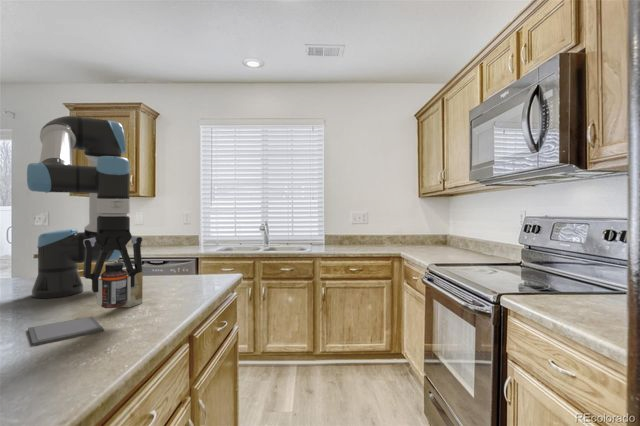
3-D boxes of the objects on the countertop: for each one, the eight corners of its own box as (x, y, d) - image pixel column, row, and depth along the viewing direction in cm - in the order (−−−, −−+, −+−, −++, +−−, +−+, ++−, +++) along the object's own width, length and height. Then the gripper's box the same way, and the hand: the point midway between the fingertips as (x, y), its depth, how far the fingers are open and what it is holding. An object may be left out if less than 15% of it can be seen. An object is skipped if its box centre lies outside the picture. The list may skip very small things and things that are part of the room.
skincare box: (129, 308, 109) (129, 269, 109) (117, 307, 110) (117, 268, 110) (143, 302, 116) (143, 266, 116) (132, 302, 117) (132, 265, 117)
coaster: (28, 330, 89) (28, 327, 89) (92, 318, 99) (92, 316, 99) (32, 345, 79) (32, 342, 79) (103, 331, 89) (103, 328, 89)
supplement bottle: (96, 306, 92) (96, 263, 92) (119, 301, 97) (120, 261, 97) (107, 310, 89) (107, 266, 89) (131, 305, 94) (131, 263, 94)
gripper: (72, 216, 84) (73, 312, 84) (155, 215, 96) (155, 298, 97) (67, 215, 89) (68, 305, 90) (147, 214, 102) (147, 293, 103)
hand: (113, 301), depth 93 cm, fingers closed on supplement bottle, 6 cm apart
